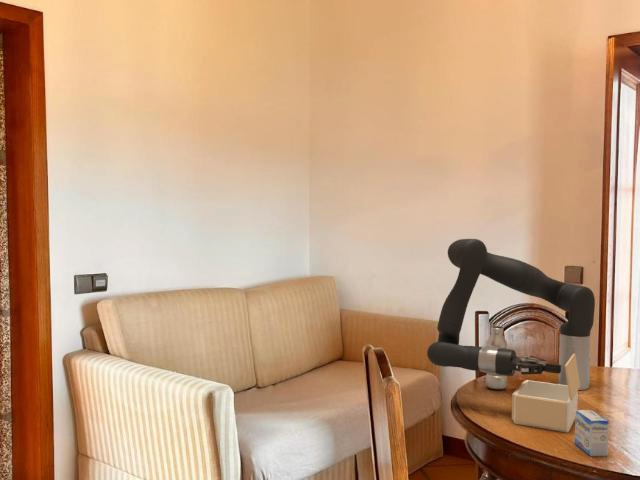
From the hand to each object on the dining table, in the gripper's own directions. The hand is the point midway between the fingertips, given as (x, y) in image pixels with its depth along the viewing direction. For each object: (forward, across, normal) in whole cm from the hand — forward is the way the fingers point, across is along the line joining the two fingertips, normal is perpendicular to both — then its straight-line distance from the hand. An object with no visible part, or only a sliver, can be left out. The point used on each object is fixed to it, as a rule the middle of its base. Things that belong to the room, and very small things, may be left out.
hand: (560, 369), depth 172 cm
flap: (+3, 0, +2) cm, 3 cm away
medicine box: (+10, -17, +15) cm, 25 cm away
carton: (-4, 0, +14) cm, 15 cm away
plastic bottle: (-23, +22, +15) cm, 35 cm away
